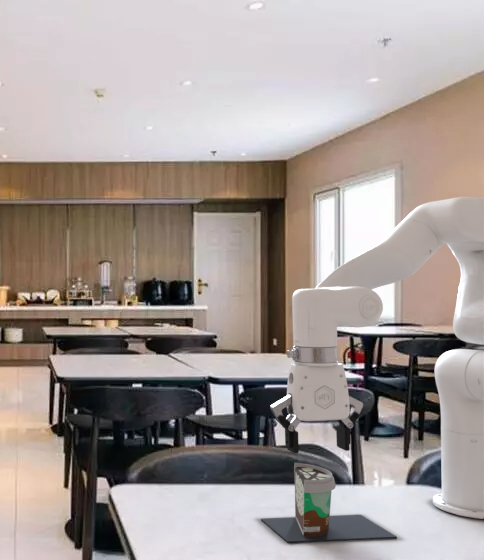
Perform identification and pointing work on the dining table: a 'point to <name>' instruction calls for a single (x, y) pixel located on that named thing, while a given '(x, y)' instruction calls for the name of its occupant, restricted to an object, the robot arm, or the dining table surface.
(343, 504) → the dining table surface
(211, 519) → the dining table surface
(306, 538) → the mat
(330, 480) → the food container
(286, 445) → the robot arm
